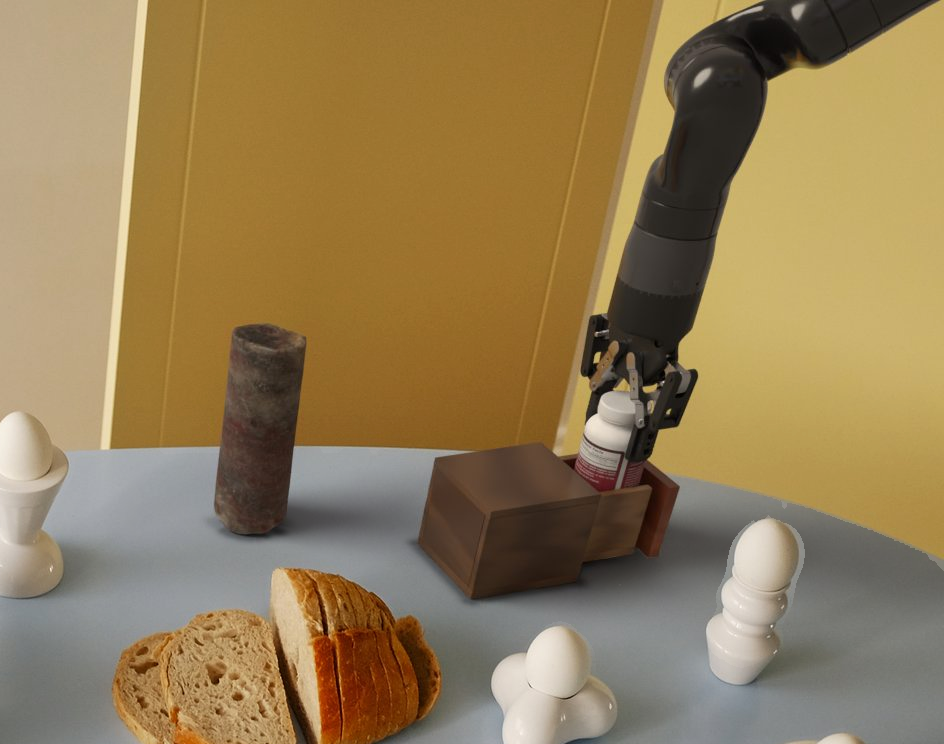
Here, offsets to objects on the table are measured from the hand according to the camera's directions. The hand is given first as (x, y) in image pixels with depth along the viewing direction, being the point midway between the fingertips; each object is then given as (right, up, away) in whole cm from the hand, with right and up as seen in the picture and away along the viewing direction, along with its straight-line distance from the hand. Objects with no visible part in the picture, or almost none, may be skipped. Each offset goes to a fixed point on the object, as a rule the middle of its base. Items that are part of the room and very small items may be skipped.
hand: (615, 443), depth 167 cm
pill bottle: (0, -5, +4) cm, 7 cm away
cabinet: (-10, -11, +5) cm, 15 cm away
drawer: (0, -8, +7) cm, 11 cm away
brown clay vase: (-33, -5, +11) cm, 35 cm away
